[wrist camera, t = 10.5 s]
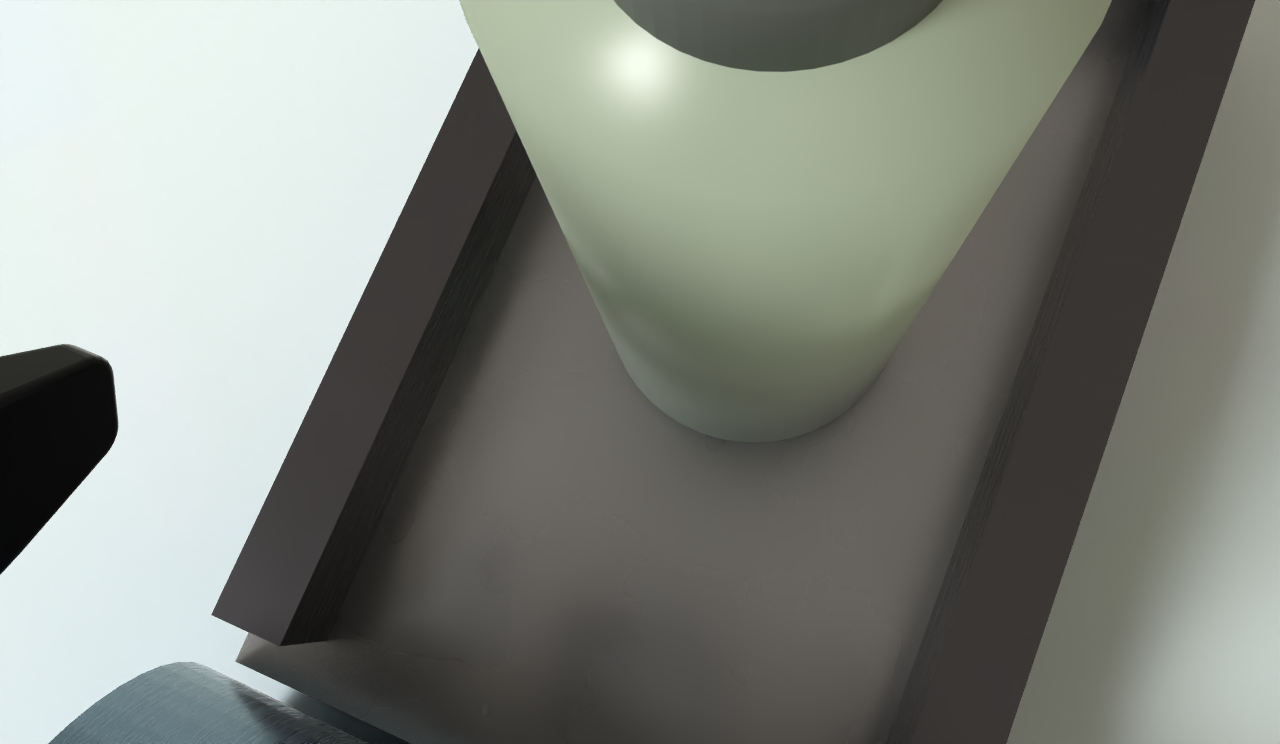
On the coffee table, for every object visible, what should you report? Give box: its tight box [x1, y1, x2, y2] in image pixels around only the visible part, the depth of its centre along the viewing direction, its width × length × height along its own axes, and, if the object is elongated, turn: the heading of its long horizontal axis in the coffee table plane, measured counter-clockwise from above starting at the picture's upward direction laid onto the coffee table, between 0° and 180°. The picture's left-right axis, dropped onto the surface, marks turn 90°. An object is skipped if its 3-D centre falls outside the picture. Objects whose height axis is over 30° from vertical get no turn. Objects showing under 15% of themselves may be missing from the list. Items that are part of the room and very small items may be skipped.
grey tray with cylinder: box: [49, 0, 1255, 744], centre depth 15 cm, size 25×12×8 cm, turn 158°
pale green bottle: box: [460, 0, 1112, 443], centre depth 12 cm, size 5×5×12 cm
